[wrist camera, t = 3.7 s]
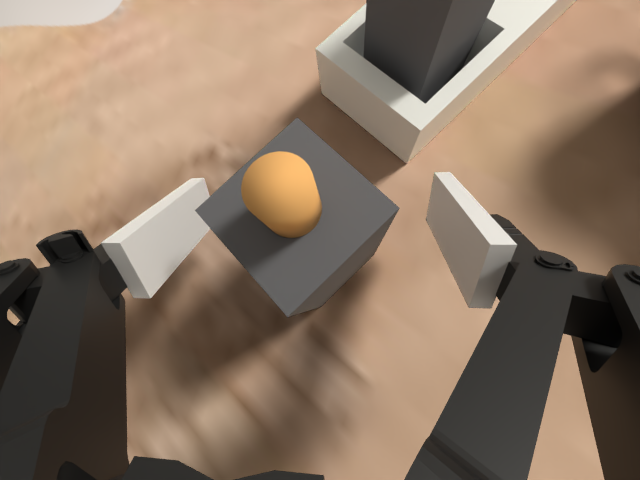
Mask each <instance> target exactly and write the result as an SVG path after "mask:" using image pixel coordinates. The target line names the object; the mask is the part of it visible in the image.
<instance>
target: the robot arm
mask: <svg viewBox="0 0 640 480" xmlns="http://www.w3.org/2000/svg"><path fill="white" fill-rule="evenodd" d="M209 197H210V196H209V192H208V189H207V186H206V183H205V179H204V178H191V179H190V180H188V181H187V182H185V183H184V184H183V185H181V186H180V187H178V188H177V189H176V190H174V191H173V192H171V193H170V194H169V195H167V196H166V197H164V198H163V199H162V200H160V201H159V202H157V203H156V204H155V205H153V206H152V207H150V208H149V209H148V210H146V211H145V212H143V213H142V214H141V215H139V216H138V217H136V218H135V219H133V220H132V221H131V222H129V223H128V224H126V225H125V226H124V227H122V228H121V229H119V230H118V231H117V232H115V233H114V234H112V235H111V236H110V237H108V238H107V239H105V240H104V241H103V242H101V244H100V245H99V246H97V247H96V248H95V249H93V248H92V247H91V245H90V244H89V242H88V240H87V239H86V237H85V236H84V234H83V232H82V231H81V230H68V231H63V232H59V233H56V234H53V235H51V236H49V237H46V238H45V239H43V240H41V241H40V242H39V243H38V244H37V245H36V246H37V247H38V249H39V250H40V251H41V253H42V254H43V255H44V257H45V258H46V259H47V261H48V262H49V263H50V266H49V267H44V268H38V269H37V268H36V266H35V265H34V264H33V263H32V261H31V260H30V259H26V258H24V259H17V260H13V261H11V260H10V261H6V262H4V263H1V264H0V480H213V479H211V478H209V477H208V476H206V475H204V474H202V473H200V472H198V471H196V470H195V469H193V468H191V467H189V466H187V465H185V464H183V463H181V462H180V461H177V460H167V459H157V458H147V457H137V456H134V458H133V460H132V461H131V463H130V464H129V461H128V455H127V405H126V337H125V300H124V298H123V296H122V295H121V293H122V292H123V291H124V290H125V289H126V288H128V289H129V291H130V293H131V294H132V296H133V298H151V297H152V296H153V295H154V294H155V293H156V292H157V290H158V289H159V288H160V287H161V286H162V285H163V283H164V282H165V281H166V280H167V279H168V278H169V276H170V275H171V274H172V273H173V272H174V271H175V269H176V268H177V267H178V266H179V265H180V264H181V262H182V261H183V260H184V259H185V258H186V257H187V255H188V254H189V253H190V252H191V251H192V250H193V248H194V247H195V246H196V245H197V244H198V243H199V241H200V240H201V239H202V238H203V237H204V236H205V234H206V233H207V232H208V231H209V230H210V227H209V226H208V225H207V224H206V223H205V222H204V221H203V219H202V218H201V217H200V216H199V215H198V214H197V212H196V211H195V210H196V209H197V208H198V207H199V206H200V205H201V204H202V203H203V202H205V201H206V200H207V199H208V198H209ZM426 221H427V223H428V225H429V227H430V229H431V231H432V233H433V235H434V237H435V239H436V241H437V243H438V245H439V247H440V249H441V252H442V254H443V256H444V258H445V260H446V262H447V264H448V266H449V268H450V270H451V272H452V274H453V276H454V278H455V280H456V282H457V284H458V287H459V289H460V291H461V293H462V295H463V297H464V299H465V301H466V303H467V305H468V307H469V308H492V306H493V303H494V301H495V298H496V296H497V297H498V299H499V301H500V302H499V304H498V306H497V308H496V310H495V312H494V314H493V316H492V317H491V319H490V321H489V323H488V325H487V327H486V329H485V331H484V333H483V335H482V337H481V339H480V340H479V342H478V344H477V346H476V348H475V350H474V352H473V354H472V356H471V358H470V360H469V362H468V364H467V365H466V367H465V369H464V371H463V373H462V375H461V377H460V379H459V381H458V383H457V385H456V387H455V389H454V390H453V392H452V394H451V396H450V398H449V400H448V402H447V404H446V406H445V408H444V410H443V412H442V413H441V415H440V417H439V419H438V421H437V423H436V425H435V427H434V429H433V431H432V432H431V434H430V436H429V437H428V438H427V439H426V441H425V442H424V444H423V446H422V447H421V449H420V451H419V453H418V455H417V457H416V458H415V460H414V462H413V464H412V466H411V468H410V470H409V472H408V474H407V475H406V477H405V479H404V480H527V478H528V474H529V470H530V466H531V462H532V457H533V453H534V449H535V445H536V441H537V437H538V433H539V429H540V425H541V421H542V417H543V412H544V408H545V404H546V400H547V396H548V392H549V388H550V384H551V380H552V376H553V372H554V368H555V363H556V359H557V355H558V351H559V347H560V343H561V339H562V335H563V333H564V334H567V335H571V337H572V341H573V345H574V350H575V354H576V358H577V363H578V367H579V371H580V375H581V380H582V384H583V388H584V393H585V397H586V401H587V406H588V410H589V414H590V419H591V423H592V427H593V432H594V436H595V440H596V445H597V449H598V453H599V457H600V462H601V466H602V470H603V475H604V479H605V480H640V267H639V266H635V265H626V264H623V265H616V266H614V267H613V268H611V270H610V271H609V273H608V274H607V276H601V275H596V274H591V273H585V272H580V271H578V270H577V266H576V265H575V264H574V263H573V262H572V261H570V260H568V259H567V258H565V257H563V256H561V255H558V254H555V253H552V252H547V251H539V250H538V249H537V248H536V247H535V246H534V245H533V244H532V243H531V242H530V241H529V240H528V239H527V238H526V237H525V236H524V235H522V233H521V232H520V231H519V230H518V229H516V227H515V226H514V225H513V224H512V223H511V222H510V221H509V220H507V219H505V218H503V217H501V216H499V215H498V214H492V215H489V214H488V212H487V211H486V210H485V209H484V208H483V207H482V206H481V205H480V204H479V203H478V202H477V201H476V200H475V198H474V197H473V196H472V195H471V194H470V193H469V192H468V191H467V190H466V189H465V188H464V187H463V185H462V184H461V183H460V182H459V181H458V180H457V179H456V178H455V177H454V176H453V175H452V174H451V172H434V177H433V183H432V188H431V194H430V200H429V206H428V211H427V217H426ZM8 309H10V310H11V311H12V312H13V313H14V314H15V315H16V316H17V317H18V318H19V319H20V321H19V322H18V324H17V325H16V326H15V325H13V324H12V323H11V322H10V321H9V320H8V319H7V311H8ZM235 480H324V475H315V474H305V473H295V472H285V471H276V470H274V471H270V472H265V473H261V474H257V475H252V476H248V477H243V478H239V479H235Z"/></svg>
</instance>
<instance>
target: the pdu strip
mask: <svg viewBox="0 0 640 480" xmlns="http://www.w3.org/2000/svg"><path fill="white" fill-rule="evenodd" d="M576 1H577V0H495V1H494V3H493V5H492V8H491V10H490V12H489V14H488V16H487V18H486V20H485V22H484V24H483V26H482V28H481V30H480V32H479V34H478V36H477V38H476V40H475V42H474V44H473V47H472V49H471V51H470V53H469V55H468V57H467V59H466V61H465V63H464V65H463V67H462V69H461V71H460V72H458V73H457V74H456V75H455V76H454V77H453V78H452V79H451V80H450V81H449V82H448V83H447V84H446V85H445V86H444V87H443V88H442V89H440V90H439V91H438V92H437V93H436V94H435V95H434V96H433V97H432V98H431V99H430V100H429V101H428V102H427V103H426V104H425V103H424V102H422V101H421V100H420V99H418V98H417V97H416V96H414V95H413V94H412V93H410V92H409V91H408V90H406V89H405V88H404V87H402V86H401V85H400V84H398V83H397V82H395V81H394V80H393V79H391V78H390V77H389V76H387V75H386V74H385V73H383V72H382V71H381V70H379V69H378V68H377V67H375V66H374V65H373V64H371V63H370V62H369V61H367V60H366V59H365V58H363V55H364V37H365V19H366V4H365V5H364V6H363V7H361V8H360V9H359V10H358V11H357V12H356V13H355V14H354V15H352V16H351V17H350V18H349V19H348V20H347V21H346V22H345V23H343V24H342V25H341V26H340V27H339V28H338V29H337V30H336V31H334V32H333V33H332V34H331V35H330V36H329V37H328V38H327V39H325V40H324V41H323V42H322V43H321V44H320V45H319V46H318V47H316V48H315V49H316V56H317V63H318V71H319V78H320V85H321V92H322V94H323V95H324V96H325V97H327V98H328V99H329V100H330V101H331V102H333V103H334V104H335V105H336V106H337V107H339V108H340V109H341V110H342V111H344V112H345V113H346V114H347V115H348V116H350V117H351V118H352V119H353V120H354V121H356V122H357V123H358V124H359V125H360V126H362V127H363V128H364V129H365V130H366V131H368V132H369V133H370V134H371V135H372V136H374V137H375V138H376V139H377V140H378V141H380V142H381V143H382V144H383V145H384V146H386V147H387V148H388V149H389V150H391V151H392V152H393V153H394V154H395V155H397V156H398V157H399V158H400V159H401V160H403V161H404V162H405V163H406V164H407V163H408V162H409V161H410V160H411V159H412V158H413V157H414V156H415V155H416V154H418V153H419V152H420V151H421V150H422V149H423V148H424V147H425V146H426V145H427V144H428V143H429V142H430V141H431V140H432V139H433V138H434V137H435V136H436V135H437V134H438V133H439V132H440V131H441V130H443V129H444V128H445V127H446V126H447V125H448V124H449V123H450V122H451V121H452V120H453V119H454V118H455V117H456V116H457V115H458V114H459V113H460V112H461V111H462V110H463V109H464V108H465V107H466V106H467V105H469V104H470V103H471V102H472V101H473V100H474V99H475V98H476V97H477V96H478V95H479V94H480V93H481V92H482V91H483V90H484V89H485V88H486V87H487V86H488V85H489V84H490V83H491V82H492V81H493V80H495V79H496V78H497V77H498V76H499V75H500V74H501V73H502V72H503V71H504V70H505V69H506V68H507V67H508V66H509V65H510V64H511V63H512V62H513V61H514V60H515V59H516V58H517V57H518V56H519V55H521V54H522V53H523V52H524V51H525V50H526V49H527V48H528V47H529V46H530V45H531V44H532V43H533V42H534V41H535V40H536V39H537V38H538V37H539V36H540V35H541V34H542V33H543V32H544V31H545V30H547V29H548V28H549V27H550V26H551V25H552V24H553V23H554V22H555V21H556V20H557V19H558V18H559V17H560V16H561V15H562V14H563V13H564V12H565V11H566V10H567V9H568V8H569V7H570V6H572V5H573V4H574V3H575V2H576Z"/></svg>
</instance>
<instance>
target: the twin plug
mask: <svg viewBox="0 0 640 480" xmlns="http://www.w3.org/2000/svg"><path fill="white" fill-rule="evenodd" d="M494 1H495V0H367V1H366V19H365V37H364V55H363V58H365V59H366V60H367V61H369V62H370V63H371V64H373V65H374V66H375V67H377V68H378V69H379V70H381V71H382V72H383V73H385V74H386V75H387V76H389V77H390V78H391V79H393V80H394V81H395V82H397V83H398V84H400V85H401V86H402V87H404V88H405V89H406V90H408V91H409V92H410V93H412V94H413V95H414V96H416V97H417V98H418V99H420V100H421V101H422V102H424V103H425V104H426V103H427V102H428V101H429V100H430V99H431V98H432V97H433V96H434V95H435V94H436V93H437V92H438V91H439V90H440V89H442V88H443V87H444V86H445V85H446V84H447V83H448V82H449V81H450V80H451V79H452V78H453V77H454V76H455V75H456V74H457V73H458V72H460V71H461V69H462V67H463V65H464V63H465V61H466V59H467V57H468V55H469V53H470V51H471V49H472V47H473V44H474V42H475V40H476V38H477V36H478V34H479V32H480V30H481V28H482V26H483V24H484V22H485V20H486V18H487V16H488V14H489V12H490V10H491V8H492V5H493V3H494Z"/></svg>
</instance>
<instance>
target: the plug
mask: <svg viewBox="0 0 640 480" xmlns="http://www.w3.org/2000/svg"><path fill="white" fill-rule="evenodd" d="M398 210H399V207H398V206H397V205H396V204H394V203H393V202H392V201H391V200H390V199H389V198H388V197H387V196H385V195H384V194H383V193H382V192H381V191H380V190H379V189H377V188H376V187H375V186H374V185H373V184H372V183H371V182H370V181H368V180H367V179H366V178H365V177H364V176H363V175H362V174H361V173H359V172H358V171H357V170H356V169H355V168H354V167H353V166H352V165H350V164H349V163H348V162H347V161H346V160H345V159H344V158H342V157H341V156H340V155H339V154H338V153H337V152H336V151H335V150H333V149H332V148H331V147H330V146H329V145H328V144H327V143H326V142H324V141H323V140H322V139H321V138H320V137H319V136H318V135H317V134H315V133H314V132H313V131H312V130H311V129H310V128H309V127H307V126H306V125H305V124H304V123H303V122H302V121H301V120H300V119H298V118H296V119H295V120H294V121H293V122H291V123H290V124H289V125H288V126H287V127H286V128H285V129H284V130H283V131H282V132H280V133H279V134H278V135H277V136H276V137H275V138H274V139H273V140H272V141H271V142H269V143H268V144H267V145H266V146H265V147H264V148H263V149H262V150H261V151H260V152H258V153H257V154H256V155H255V156H254V157H253V158H252V159H251V160H250V161H249V162H247V163H246V164H245V165H244V166H243V167H242V168H241V169H240V170H239V171H238V172H236V173H235V174H234V175H233V176H232V177H231V178H230V179H229V180H228V181H227V182H225V183H224V184H223V185H222V186H221V187H220V188H219V189H218V190H217V191H216V192H214V193H213V194H212V195H211V196H210V197H209V198H208V199H207V200H206V201H205V202H203V203H202V204H201V205H200V206H199V207H198V208H197V209H196V210H195V211H196V212H197V214H198V215H199V216H200V217H201V218H202V219H203V221H204V222H205V223H206V224H207V225H208V226H209V227H210V229H211V230H212V231H213V232H214V233H215V234H216V235H217V237H218V238H219V239H220V240H221V241H222V242H223V244H224V245H225V246H226V247H227V248H228V249H229V250H230V252H231V253H232V254H233V255H234V256H235V257H236V258H237V260H238V261H239V262H240V263H241V264H242V265H243V267H244V268H245V269H246V270H247V271H248V272H249V273H250V275H251V276H252V277H253V278H254V279H255V280H256V282H257V283H258V284H259V285H260V286H261V287H262V288H263V290H264V291H265V292H266V293H267V294H268V295H269V296H270V298H271V299H272V300H273V301H274V302H275V303H276V305H277V306H278V307H279V308H280V309H281V310H282V311H283V313H284V314H285V315H286V316H287V317H290V316H293V315H296V314H300V313H303V312H306V311H309V310H312V309H315V308H319V307H321V306H322V305H323V304H324V303H325V302H326V301H327V300H328V299H330V298H331V297H332V296H333V295H334V294H335V293H336V292H337V291H338V290H339V289H340V288H341V287H342V286H343V285H344V284H345V283H346V282H347V281H348V280H349V279H350V278H351V277H352V276H353V275H354V274H355V273H356V272H357V271H358V270H359V269H360V268H361V267H362V266H363V265H364V264H365V263H366V262H367V261H368V260H369V259H370V258H371V257H372V256H373V255H374V254H375V252H376V250H377V248H378V246H379V244H380V243H381V241H382V239H383V237H384V235H385V234H386V232H387V230H388V228H389V226H390V225H391V223H392V221H393V219H394V217H395V215H396V214H397V212H398Z"/></svg>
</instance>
